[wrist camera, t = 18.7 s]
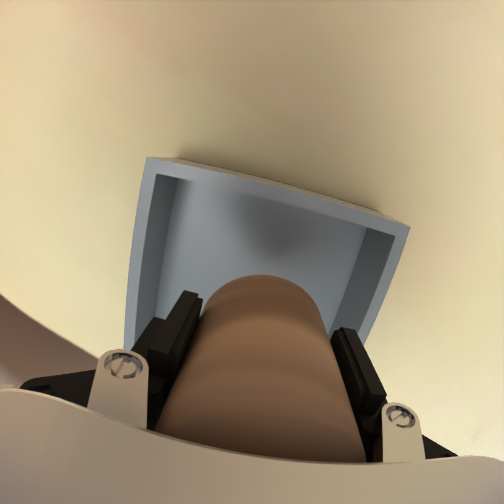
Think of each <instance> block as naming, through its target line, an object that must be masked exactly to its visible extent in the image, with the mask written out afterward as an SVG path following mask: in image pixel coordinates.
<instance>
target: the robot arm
mask: <svg viewBox="0 0 504 504" xmlns="http://www.w3.org/2000/svg"><path fill="white" fill-rule="evenodd" d="M198 295H199V294H198V293H194V292H191V291H187V290H184V291H183V292H182V294H181V295H180V297H179V299H178V300H177V302H176V303H175V305H174V307H173V308H172V310H171V311H170V313H169V315H168V316H167V318H166V320H165V319H162V318H158V317H153V318H152V319H151V321H150V322H149V324H148V325H147V327H146V328H145V330H144V331H143V332H142V334H141V335H140V337H139V338H138V340H137V341H136V343H135V344H134V346H133V347H132V349H131V350H130V351H129V350H124V349H116V350H111V351H108V352H106V353H104V354H103V355H102V356H101V357H100V359H99V361H98V365H97V369H96V370H89V371H84V372H77V373H70V374H63V375H55V376H48V377H40V378H34V379H30V380H28V381H27V382H25V383H24V384H23V385H22V386H21V387H20V388H14V385H13V384H0V504H504V462H503V461H500V460H498V459H495V458H490V457H486V456H472V455H471V456H458V455H457V454H455V453H453V452H451V451H449V450H448V449H446V448H444V447H442V446H441V445H439V444H437V443H436V442H434V441H432V440H430V439H429V438H427V437H425V436H424V435H422V433H421V428H420V422H419V419H418V416H417V415H416V413H415V412H414V411H413V410H412V409H410V408H409V407H407V406H405V405H403V404H400V403H395V402H393V403H388V402H387V400H386V398H385V397H386V396H387V394H386V392H385V390H384V388H383V385H382V383H381V381H380V379H379V377H378V375H377V373H376V371H375V369H374V367H373V365H372V362H371V360H370V358H369V356H368V354H367V352H366V350H365V348H364V346H363V344H362V342H361V340H360V338H359V336H358V334H357V332H356V330H355V329H350V328H345V327H340V328H339V330H334V332H333V334H332V336H331V339H330V343H331V346H332V349H333V352H334V355H335V358H336V361H337V364H338V367H339V370H340V373H341V376H342V379H343V383H344V386H345V389H346V392H347V395H348V398H349V401H350V405H351V408H352V411H353V414H354V417H355V421H356V424H357V427H358V431H359V434H360V437H361V441H362V444H363V448H364V451H365V455H366V463H342V462H319V461H305V460H293V459H284V458H275V457H268V456H261V455H254V454H248V453H242V452H236V451H231V450H226V449H221V448H216V447H211V446H207V445H202V444H198V443H194V442H190V441H186V440H182V439H178V438H175V437H171V436H168V435H164V434H161V433H158V432H154V430H155V427H156V425H157V422H158V420H159V417H160V415H161V412H162V409H163V407H164V404H165V402H166V399H167V397H168V394H169V392H170V389H171V387H172V385H173V383H174V380H175V378H176V375H177V373H178V370H179V368H180V365H181V363H182V360H183V358H184V355H185V353H186V350H187V348H188V345H189V343H190V340H191V338H192V335H193V333H194V331H195V328H196V326H197V323H198V321H199V318H200V313H201V308H202V303H203V299H202V298H198Z"/></svg>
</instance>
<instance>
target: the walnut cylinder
mask: <svg viewBox="0 0 504 504" xmlns="http://www.w3.org/2000/svg"><path fill="white" fill-rule="evenodd" d="M154 432H158V433H161V434H164V435H168V436H171V437H175V438H178V439H182V440H186V441H190V442H194V443H198V444H202V445H207V446H211V447H216V448H221V449H226V450H231V451H236V452H242V453H248V454H254V455H261V456H268V457H275V458H284V459H293V460H305V461H319V462H342V463H366V455H365V451H364V448H363V444H362V441H361V437H360V434H359V431H358V427H357V424H356V421H355V417H354V414H353V411H352V408H351V405H350V401H349V398H348V395H347V392H346V389H345V386H344V383H343V379H342V376H341V373H340V370H339V367H338V364H337V361H336V358H335V355H334V352H333V349H332V346H331V343H330V340H329V338H328V335H327V332H326V329H325V326H324V323H323V320H322V317H321V314H320V312H319V309H318V307H317V305H316V303H315V302H314V300H313V299H312V298H311V296H310V295H309V294H308V293H307V292H306V291H305V290H303V289H302V288H301V287H300V286H298V285H296V284H295V283H293V282H291V281H289V280H287V279H284V278H280V277H277V276H271V275H250V276H244V277H241V278H238V279H235V280H233V281H230V282H228V283H226V284H225V285H223V286H222V287H220V288H219V289H218V290H217V291H216V292H214V293H213V295H212V296H211V297H210V298H209V299H208V301H207V303H206V304H205V306H204V308H203V310H202V313H201V315H200V318H199V321H198V323H197V326H196V328H195V331H194V333H193V335H192V338H191V340H190V343H189V345H188V348H187V350H186V353H185V355H184V358H183V360H182V363H181V365H180V368H179V370H178V373H177V375H176V378H175V380H174V383H173V385H172V387H171V389H170V392H169V394H168V397H167V399H166V402H165V404H164V407H163V409H162V412H161V415H160V417H159V420H158V422H157V425H156V427H155V430H154Z"/></svg>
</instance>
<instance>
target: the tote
mask: <svg viewBox="0 0 504 504" xmlns="http://www.w3.org/2000/svg"><path fill="white" fill-rule="evenodd" d="M409 230H410V227H409V226H407V225H405V224H403V223H401V222H399V221H397V220H395V219H393V218H390V217H388V216H386V215H384V214H382V213H380V212H378V211H375V210H372V209H369V208H366V207H363V206H359V205H356V204H353V203H350V202H347V201H343V200H340V199H337V198H334V197H330V196H327V195H323V194H320V193H317V192H313V191H310V190H306V189H302V188H299V187H295V186H292V185H288V184H284V183H280V182H277V181H273V180H269V179H265V178H261V177H257V176H253V175H249V174H245V173H241V172H237V171H232V170H228V169H224V168H219V167H215V166H211V165H206V164H201V163H197V162H192V161H187V160H182V159H177V158H156V157H147V158H146V163H145V168H144V173H143V178H142V183H141V189H140V194H139V200H138V206H137V212H136V219H135V225H134V232H133V240H132V248H131V256H130V265H129V275H128V285H127V297H126V311H125V329H124V350H129V351H130V350H131V349H132V347H133V346H134V344H135V343H136V341H137V340H138V338H139V337H140V335H141V334H142V332H143V331H144V330H145V328H146V327H147V325H148V324H149V322H150V321H151V319H152V318H153V317H158V318H162V319H165V320H166V318H167V316H168V315H169V313H170V311H171V310H172V308H173V307H174V305H175V303H176V302H177V300H178V299H179V297H180V295H181V294H182V292H183V291H184V290H187V291H191V292H194V293H198V294H199V295H198V298H202V299H203V303H202V308H201V313H202V310H203V308H204V306H205V304H206V303H207V301H208V299H209V298H210V297H211V296H212V295H213V293H214V292H216V291H217V290H218V289H219V288H220V287H222V286H223V285H225V284H226V283H228V282H230V281H233V280H235V279H238V278H241V277H244V276H250V275H271V276H277V277H280V278H284V279H287V280H289V281H291V282H293V283H295V284H296V285H298V286H300V287H301V288H302V289H303V290H305V291H306V292H307V293H308V294H309V295H310V296H311V298H312V299H313V300H314V302H315V303H316V305H317V307H318V309H319V312H320V314H321V317H322V320H323V323H324V326H325V329H326V332H327V335H328V338H329V340H330V339H331V336H332V334H333V332H334V330H339V328H340V327H345V328H350V329H355V330H356V332H357V334H358V336H359V338H360V340H361V342H362V344H363V345H364V343H365V341H366V339H367V337H368V335H369V333H370V330H371V328H372V326H373V324H374V321H375V319H376V317H377V315H378V312H379V310H380V308H381V305H382V303H383V300H384V298H385V295H386V293H387V291H388V288H389V286H390V283H391V280H392V278H393V275H394V273H395V270H396V267H397V264H398V262H399V259H400V256H401V253H402V250H403V248H404V245H405V242H406V239H407V236H408V233H409ZM201 313H200V315H201Z"/></svg>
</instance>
